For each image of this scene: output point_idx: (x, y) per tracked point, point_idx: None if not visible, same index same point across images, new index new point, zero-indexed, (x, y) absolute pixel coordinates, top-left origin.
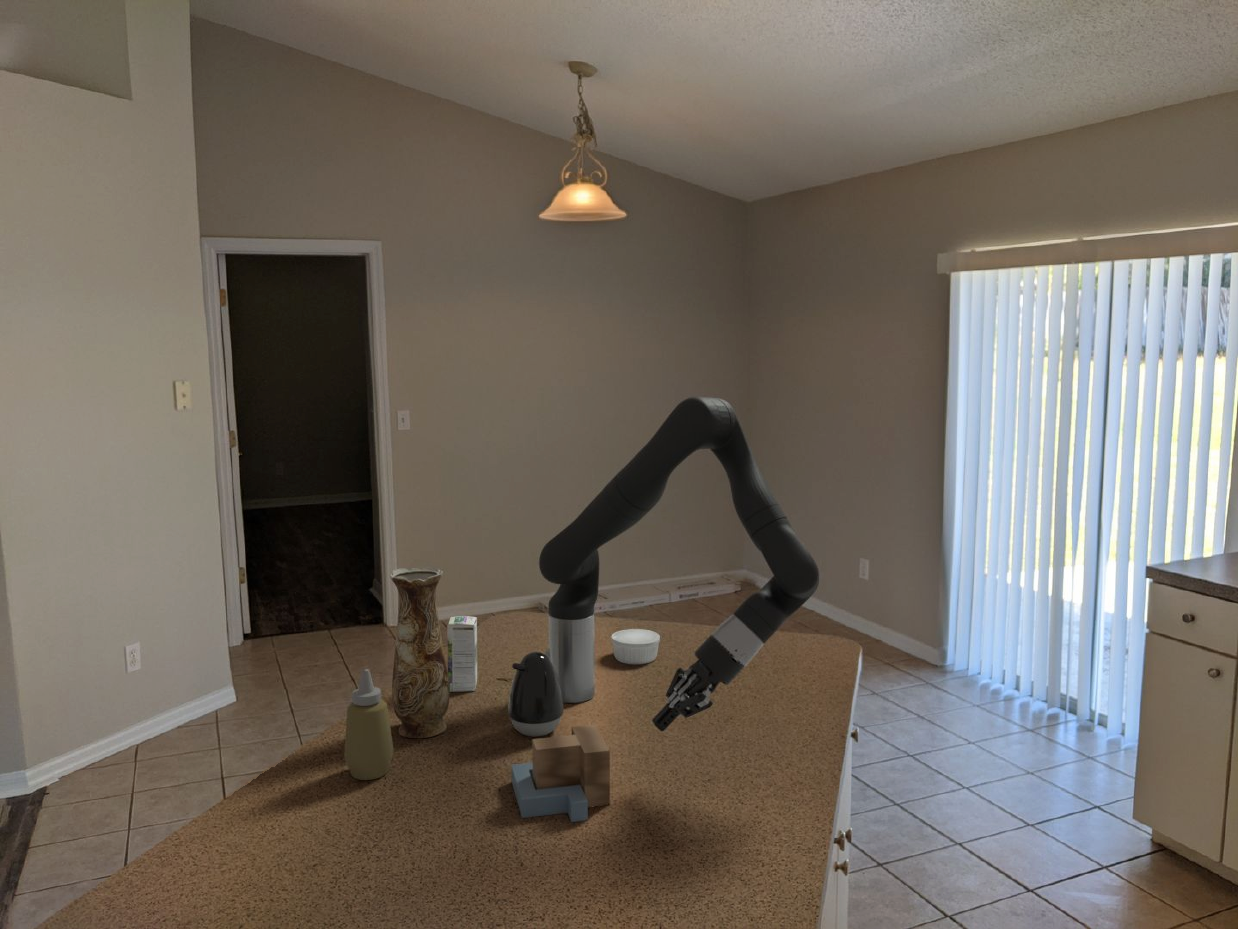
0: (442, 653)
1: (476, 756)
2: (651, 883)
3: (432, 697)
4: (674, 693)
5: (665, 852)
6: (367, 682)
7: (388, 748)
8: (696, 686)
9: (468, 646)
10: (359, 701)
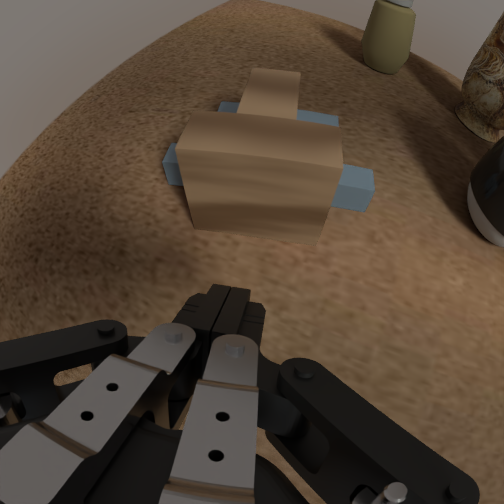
0: None
1: (415, 133)
2: (14, 209)
3: (478, 81)
4: (233, 381)
5: (38, 249)
6: None
7: (377, 45)
8: (9, 439)
9: None
10: None
